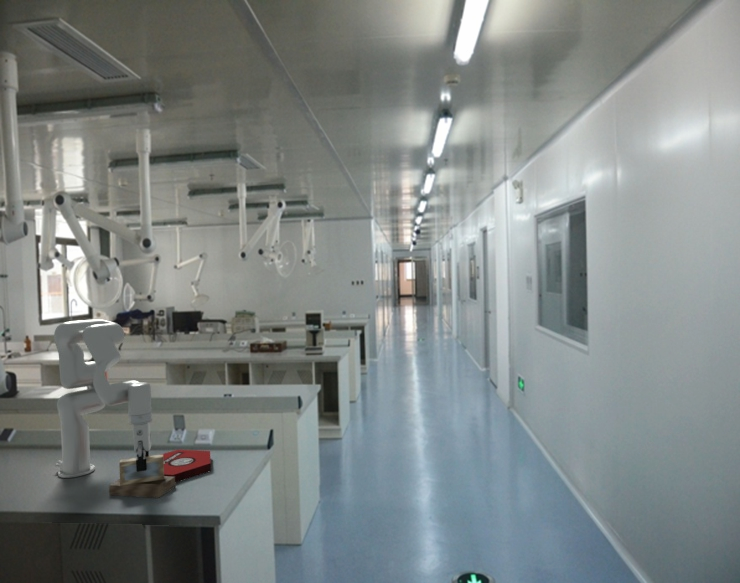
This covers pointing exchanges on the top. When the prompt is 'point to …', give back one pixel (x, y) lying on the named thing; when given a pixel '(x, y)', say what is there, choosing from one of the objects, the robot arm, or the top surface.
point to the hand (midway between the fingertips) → (142, 466)
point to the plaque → (186, 463)
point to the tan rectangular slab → (132, 476)
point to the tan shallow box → (143, 488)
